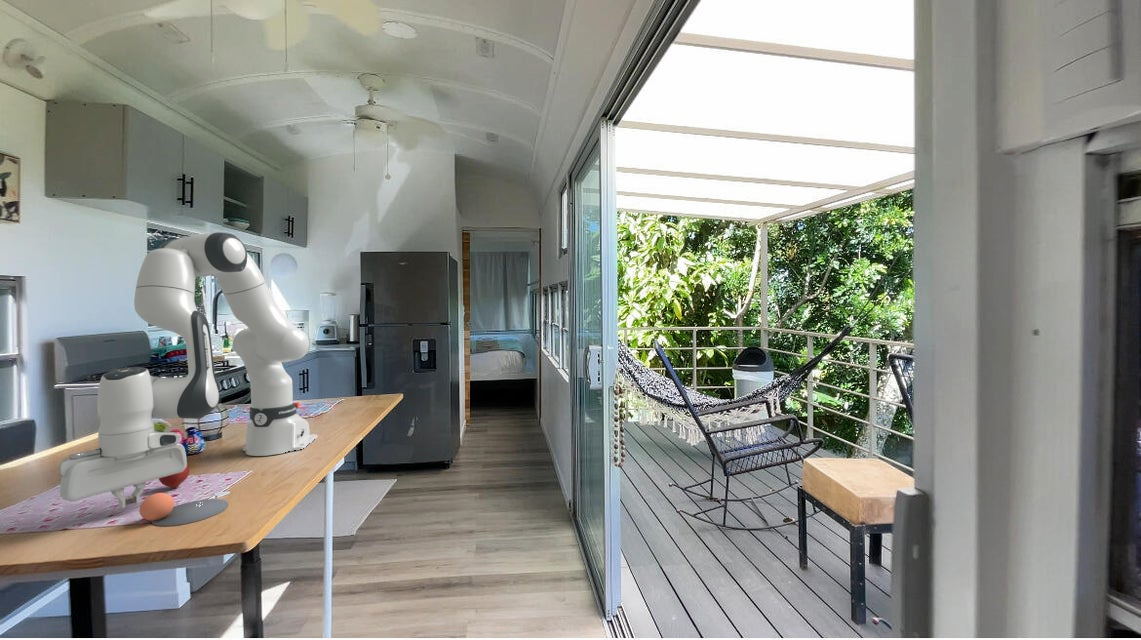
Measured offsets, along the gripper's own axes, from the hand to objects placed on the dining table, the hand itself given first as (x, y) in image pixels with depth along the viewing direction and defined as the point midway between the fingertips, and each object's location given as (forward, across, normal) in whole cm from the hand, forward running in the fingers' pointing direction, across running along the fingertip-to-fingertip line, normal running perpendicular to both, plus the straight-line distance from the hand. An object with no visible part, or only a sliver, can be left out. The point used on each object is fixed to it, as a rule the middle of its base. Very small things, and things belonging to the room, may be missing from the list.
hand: (129, 505), depth 101 cm
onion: (+2, +12, +8) cm, 14 cm away
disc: (+2, +6, -12) cm, 14 cm away
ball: (-1, +1, -10) cm, 10 cm away
